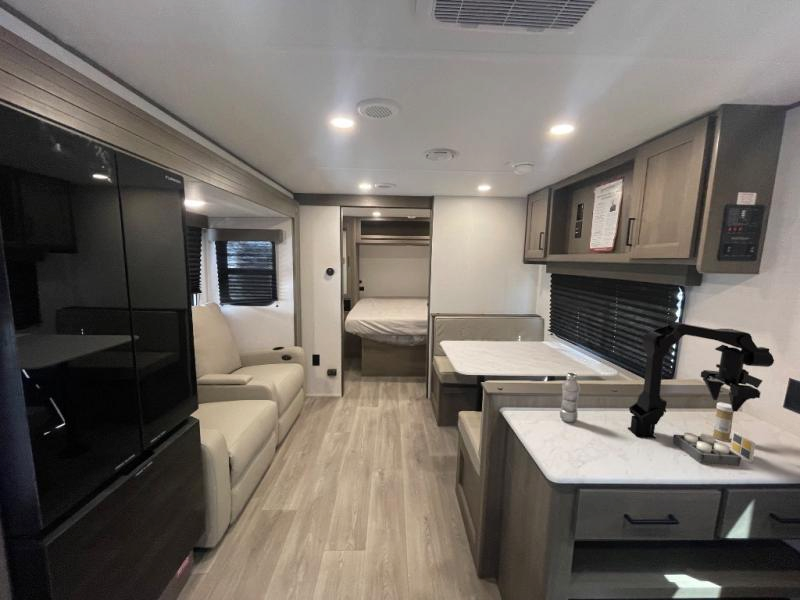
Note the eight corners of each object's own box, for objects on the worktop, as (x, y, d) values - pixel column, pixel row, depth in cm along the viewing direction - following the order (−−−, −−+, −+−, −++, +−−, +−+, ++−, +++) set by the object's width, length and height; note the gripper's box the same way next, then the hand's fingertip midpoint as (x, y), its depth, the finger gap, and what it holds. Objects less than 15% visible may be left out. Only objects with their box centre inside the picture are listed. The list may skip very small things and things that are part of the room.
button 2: (702, 453, 103) (703, 447, 102) (693, 447, 106) (694, 440, 106) (714, 454, 102) (715, 448, 102) (704, 448, 106) (705, 441, 105)
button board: (700, 463, 102) (701, 454, 101) (672, 442, 113) (673, 434, 113) (739, 466, 100) (741, 457, 100) (707, 444, 112) (708, 436, 112)
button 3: (705, 445, 107) (706, 438, 107) (696, 439, 111) (697, 433, 111) (717, 446, 107) (718, 439, 107) (707, 440, 111) (708, 433, 110)
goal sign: (749, 462, 102) (753, 443, 101) (729, 449, 109) (732, 431, 108) (752, 462, 102) (755, 443, 101) (731, 449, 109) (734, 431, 108)
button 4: (720, 455, 102) (721, 448, 102) (710, 448, 106) (711, 442, 105) (732, 455, 102) (733, 449, 101) (721, 449, 105) (722, 442, 105)
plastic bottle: (555, 417, 130) (559, 372, 128) (568, 415, 132) (572, 370, 130) (568, 425, 124) (572, 378, 122) (581, 423, 126) (585, 376, 124)
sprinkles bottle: (730, 439, 116) (736, 405, 114) (727, 443, 113) (733, 408, 111) (713, 433, 119) (718, 400, 118) (710, 437, 117) (715, 403, 115)
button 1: (688, 444, 108) (689, 437, 108) (680, 438, 111) (681, 432, 111) (700, 445, 108) (701, 438, 107) (691, 439, 111) (692, 432, 111)
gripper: (784, 376, 100) (775, 421, 102) (737, 358, 118) (730, 397, 120) (742, 372, 103) (735, 416, 105) (702, 355, 121) (696, 393, 123)
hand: (724, 405), depth 113 cm, fingers open, 9 cm apart
